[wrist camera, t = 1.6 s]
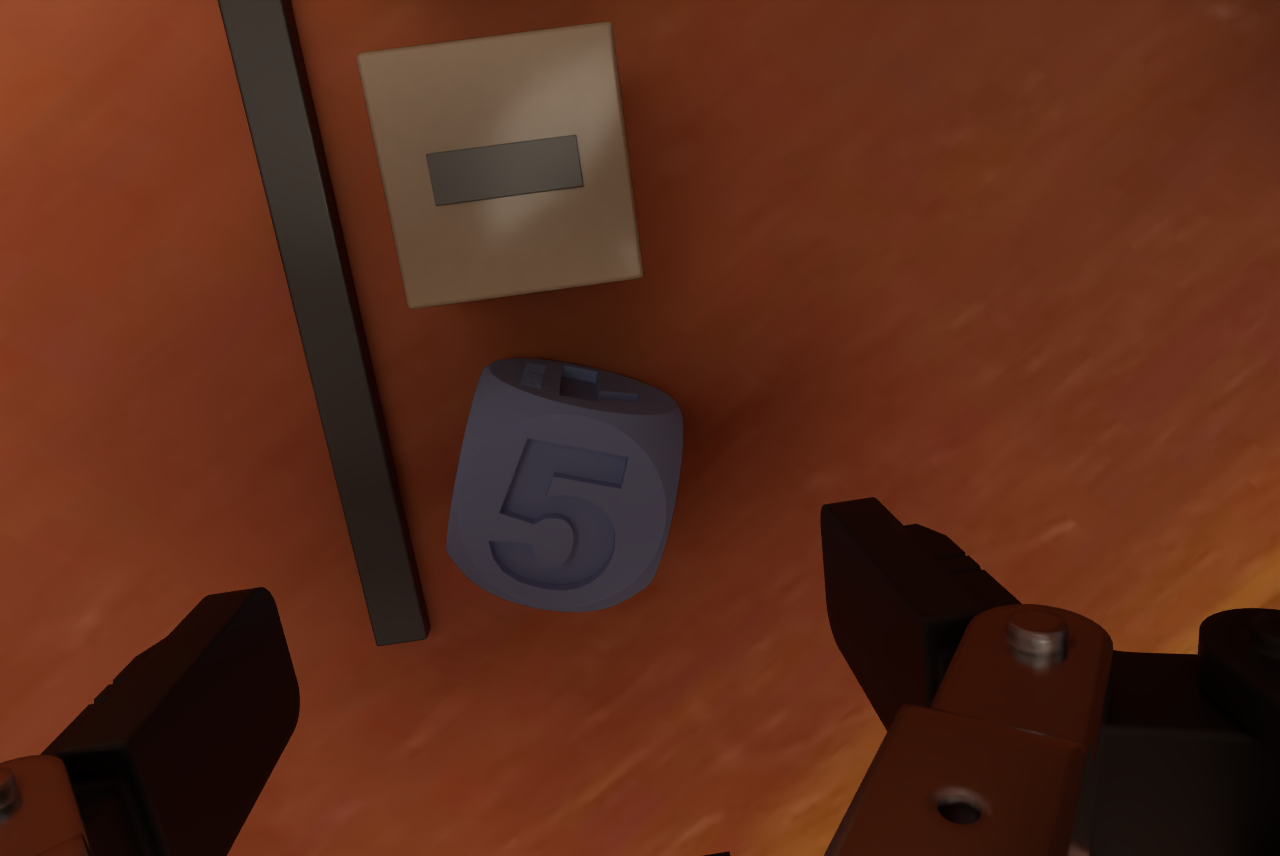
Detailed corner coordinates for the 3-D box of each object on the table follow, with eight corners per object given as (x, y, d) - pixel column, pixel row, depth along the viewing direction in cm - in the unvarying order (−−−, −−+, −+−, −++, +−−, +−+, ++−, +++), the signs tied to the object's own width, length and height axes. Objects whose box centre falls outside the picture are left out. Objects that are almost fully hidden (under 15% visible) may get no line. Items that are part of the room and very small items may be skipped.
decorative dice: (671, 382, 18) (695, 431, 15) (633, 543, 19) (645, 629, 16) (494, 346, 18) (470, 387, 14) (464, 514, 19) (435, 594, 15)
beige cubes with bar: (165, -250, 15) (12, -415, 11) (559, -296, 15) (550, -472, 11) (381, 636, 20) (331, 746, 16) (673, 593, 20) (696, 690, 16)
